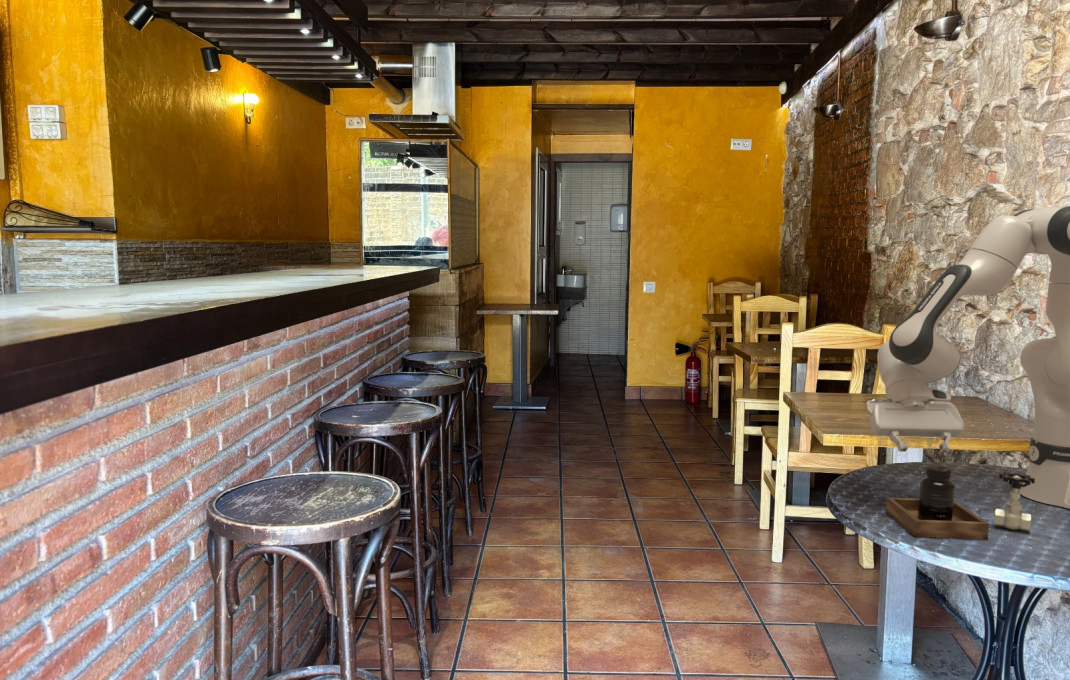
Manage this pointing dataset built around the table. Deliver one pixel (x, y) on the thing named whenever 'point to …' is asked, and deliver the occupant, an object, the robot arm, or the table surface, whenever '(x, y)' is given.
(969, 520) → the walnut tray
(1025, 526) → the valve
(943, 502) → the supplement bottle
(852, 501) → the table surface
